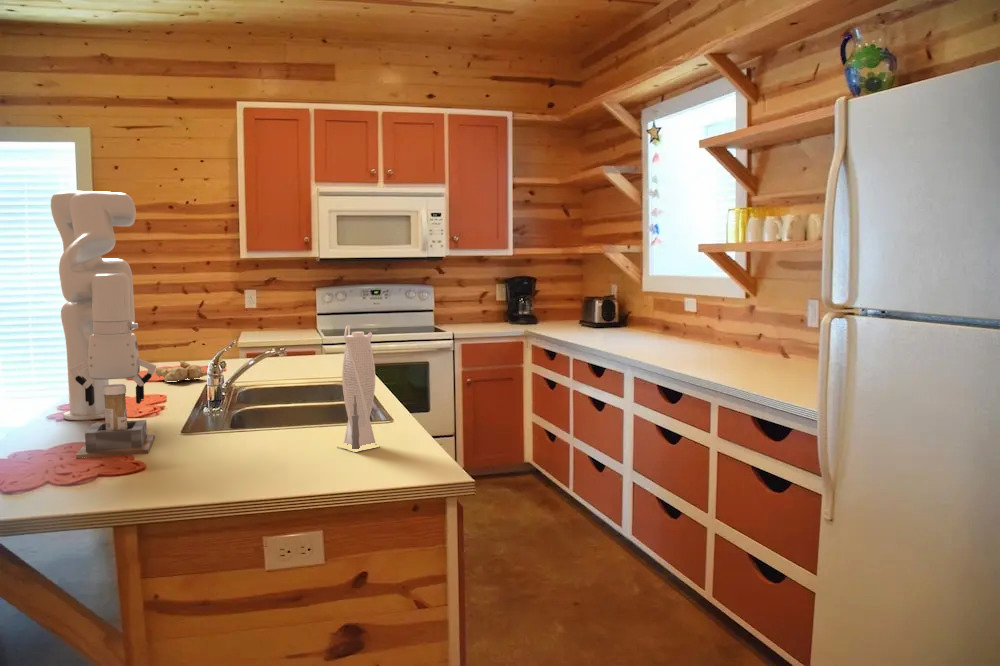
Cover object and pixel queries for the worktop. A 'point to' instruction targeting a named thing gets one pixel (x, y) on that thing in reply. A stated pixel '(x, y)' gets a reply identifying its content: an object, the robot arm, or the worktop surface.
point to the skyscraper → (358, 387)
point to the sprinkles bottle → (115, 406)
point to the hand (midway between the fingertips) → (115, 403)
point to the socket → (116, 440)
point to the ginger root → (181, 372)
